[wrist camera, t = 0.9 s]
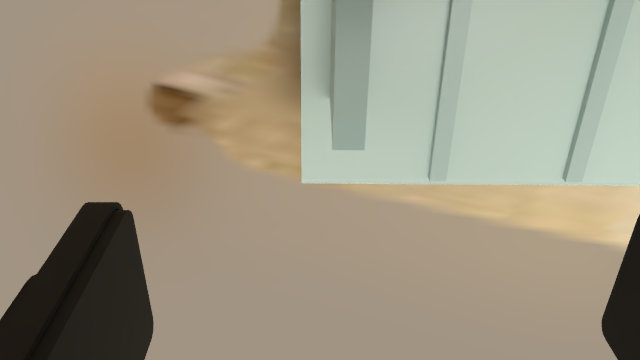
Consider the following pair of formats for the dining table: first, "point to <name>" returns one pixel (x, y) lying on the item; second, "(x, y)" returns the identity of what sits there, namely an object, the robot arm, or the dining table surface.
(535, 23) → the lid
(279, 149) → the dining table surface
